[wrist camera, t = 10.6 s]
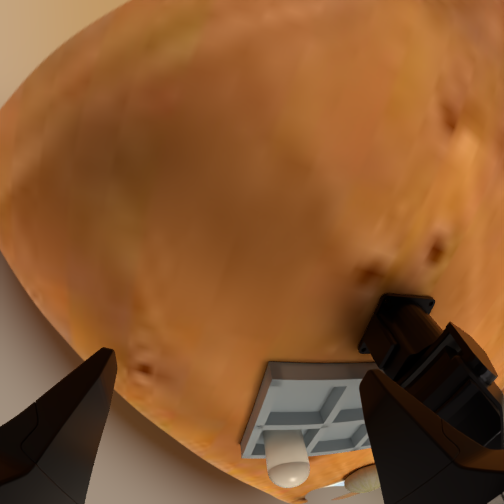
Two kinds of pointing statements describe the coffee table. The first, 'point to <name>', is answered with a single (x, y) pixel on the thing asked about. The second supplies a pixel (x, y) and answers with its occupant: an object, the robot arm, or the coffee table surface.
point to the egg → (286, 457)
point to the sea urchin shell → (363, 480)
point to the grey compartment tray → (310, 407)
